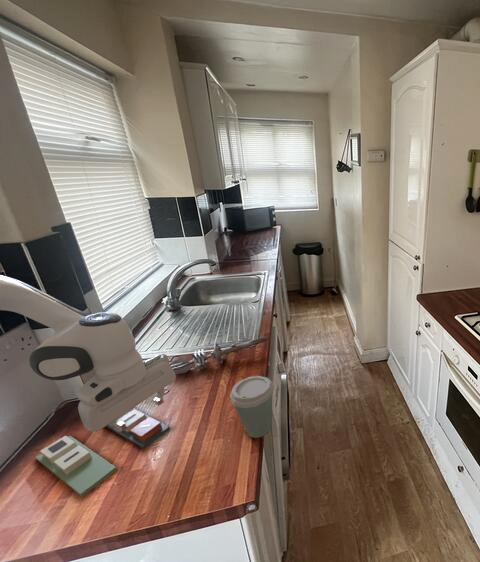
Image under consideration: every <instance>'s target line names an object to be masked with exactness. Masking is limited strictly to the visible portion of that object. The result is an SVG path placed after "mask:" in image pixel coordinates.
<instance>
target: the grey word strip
mask: <svg viewBox="0 0 480 562" xmlns="http://www.w3.org/2000/svg"><path fill="white" fill-rule="evenodd" d="M148 417H151V418H152V419H154V420H156V421H158V422H160V423H161V426H162V428H161V429H159V430H158V431H157V432H155V433H154V434H153V435H151V436H150V437H149V438H147V439H146V440H145V441H141V440H140V439H138V438H136V437H134V436H133V435H132V434H131V432H130V430H131V429H133V428H134V427H135V426H137V425H138V424H140V423H141V422H143V421H144V420H145V419H147V418H148ZM116 420H117V422H116V423H119V422H120V421H122V422H124V423H125V425H126V427H127V428H126V429H125V430H123V431H122V432H119V431H117V429H116V427H113V426H110V425H109V424H108V425H107V426H105V427H106V428H107V429H108V430H111V431H112V432H114V433H115V434H117V435H119V436H120V437H122V438H124V439H126V440H127V441H128V442H130V443H132V444H134V445H135V446H137V447H139V448H140V449H142V450H146V449H147V448H148V447H149V446H151V445H152V444H153V443H155V442H156V441H157V440H158V439H160V438H161V437H162V436H163V435H165V434H166V433H167V432H169V431H170V430H171V427H170V426H169V425H167V424H165V423H163V422H161V421H159V420H158V419H156V418H154V417H152V416H151V415H149V414H146V413H144V412H142V411H141V410H139V409H137V408H136V407H134V408H133V409H131V410H130V411H128V412H126V413H125V414H123V415H122V416H120V417H119V418H117V419H116Z"/></svg>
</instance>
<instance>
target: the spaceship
mask: <svg viewBox="0 0 480 562" xmlns="http://www.w3.org/2000/svg"><path fill="white" fill-rule="evenodd" d="M269 339H270V337H269V336H261V337H258V338H255V339H252V340H247V341H243V342H240V343H236V344H235V343H233V344H230V346H226V347H224V348H223V349H222V348H221V347H220V345H219V344H218V343H217V342H215V343H214V345H213V350H212V351H210V354H208V355H207V354H206V351H204V348H201V351H200V349H198V350H195V351H193V355H192V360H189V358H188V357H184V356H183V357H182V356H180V357H178V358H176V359H174V360H173V361H172V362H169V365H170V366H171V368H172V369H173V371H174V373H175V375H176V374H185V373H187V372H188V371H189V370H190V369H191V368H192V366H191V365H193V364H194V368H197V371H200V370H202V369H206V368H207V367H208V366H207V364H209V362H208V359H212V360H215V359H216V361H217V363H219V365H223V364H224V363H223V362H224V355H230V354H232V353H234V354H236V353H239V351H242V350H243V349H247V348H250V347H253V346H256V345H259V344H262V343H265V342H267V341H268V340H269Z"/></svg>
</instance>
